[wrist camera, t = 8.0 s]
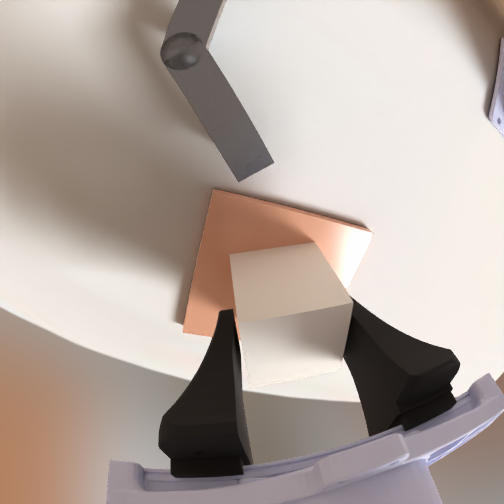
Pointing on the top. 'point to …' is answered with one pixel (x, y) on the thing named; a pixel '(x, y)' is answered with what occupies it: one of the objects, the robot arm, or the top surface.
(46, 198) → the top surface
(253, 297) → the cream block
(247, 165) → the bent rail
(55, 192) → the top surface
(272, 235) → the terracotta tile
